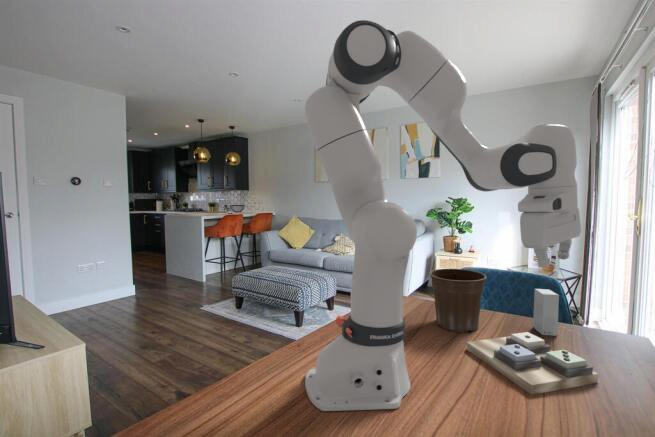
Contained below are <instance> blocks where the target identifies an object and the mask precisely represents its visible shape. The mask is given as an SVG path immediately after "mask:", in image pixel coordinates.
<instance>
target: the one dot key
mask: <svg viewBox="0 0 655 437" xmlns="http://www.w3.org/2000/svg"><path fill="white" fill-rule="evenodd" d="M510 336H511V339H512V340H514V341H515V342H517V343H519V344H521V345H523V346H525V347H527V348H532V347H539V346H545V344H546V343H545V342H546V341H545V339H543V338H542V337H539V336H537V335H535V334H532V333H531V332H529V331H525V332H518V333H511V334H510Z"/></svg>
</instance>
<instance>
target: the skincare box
mask: <svg viewBox="0 0 655 437" xmlns="http://www.w3.org/2000/svg"><path fill="white" fill-rule="evenodd" d="M533 297H534V298H533V299H534V300H533V321H532V322H533V323H532V325H533V326H532V327H533V328H534V329H535V330H536V331H537V332H538V333H540V335H542V336H551V337H552V336H553V337H557V336H558V333H559V332H558V331H559V330H558V327H559V326H558V325H559V303H560V302H559V300H560V295H559V294H558V293H556V292H554V291H553V290H551V289H545V288H534V295H533Z"/></svg>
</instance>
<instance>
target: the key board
mask: <svg viewBox="0 0 655 437" xmlns="http://www.w3.org/2000/svg"><path fill="white" fill-rule="evenodd" d="M514 344H518V345H520V346H522V347H524V348H526V349H528V350H529V351H531V352H533V353H535V360H531V361H525V362H518V363H516V362H515V361H513V360H511V359H510V358H508V357H507V356H505V355H503V354H502V353H500V346H506V345H514ZM466 350H467V351H468V352H469V353H471V354H473V355H474V356H475V357H477V358H478V359H480V360H481V361H482V362H484V363H485V364H487V365H489V366H490V367H491V368H493V369H494V370H496V371H497V372H498V373H501V375H502V376H504V377H506V378H508V379H509V381H512V382H513V383H514V384H515V385H517V386H519V387H520V388H522V389H523V390H525V391H526V392H527V393H529V394H530V395H532V396H533V395H537V394H538V395H539V394H544V393H548V392H554V391H559V390H566V389H570V388H576V387H581V386H588V385H592V384H598V383H599V382H598V380H599V379H598V378H599V374H598V372H596V371H593V370H594V366H592V365H589V364H587V363H586V367H581V368H575V369H569V370H567V369H565V368H564V367H562V366H560V365H558V364H556V363H554V362H552V361H551V360H549V359H547V358H546V352H551V351H553V350H552V349H551V345H549V344H547V343H545V346H539V347H532V348H527V347H525V346H523V345H521V344H519V343H517V342H515V341H514V340H512V339H511V335H510V336H502V337H495V338H488V339H487V338H486V339H480V340H479V339H478V340H471V341H466Z"/></svg>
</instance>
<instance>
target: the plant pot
mask: <svg viewBox="0 0 655 437" xmlns="http://www.w3.org/2000/svg"><path fill="white" fill-rule="evenodd" d="M429 276H430V277H431V278H430V279H431V286H432V287H433V297H434V307H435V316H436V317H435V319H436V324H437V325H438V326H440V327H441V328H442V329H445V330H448V331H452V332H457V333H458V332H459V333H460V332H462V333H467V332H468V331H470V332H474V331H476V330H478V328H479V325H480V314H481V305H482V303H481V302H482V297H483V296H482V295H483V291H484V287H485V281H486V280H487V275H486V274H484V273H482V272H480V271H476V270H471V269H464V268H463V269H462V268H438V269H433V270H431V271H429Z"/></svg>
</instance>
